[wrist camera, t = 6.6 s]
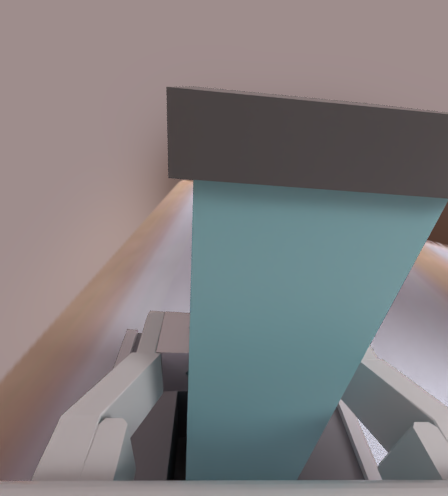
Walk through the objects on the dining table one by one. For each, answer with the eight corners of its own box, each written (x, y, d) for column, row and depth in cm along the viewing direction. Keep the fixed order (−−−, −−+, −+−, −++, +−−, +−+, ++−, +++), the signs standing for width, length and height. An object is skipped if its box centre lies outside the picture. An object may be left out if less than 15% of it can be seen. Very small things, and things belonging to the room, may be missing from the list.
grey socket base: (136, 390, 19) (127, 329, 16) (299, 393, 20) (321, 336, 17) (46, 736, 9) (-29, 759, 6) (386, 714, 10) (488, 724, 7)
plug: (186, 439, 16) (193, 86, 7) (259, 440, 16) (363, 102, 7) (176, 549, 12) (166, 86, 3) (272, 548, 12) (537, 122, 3)
